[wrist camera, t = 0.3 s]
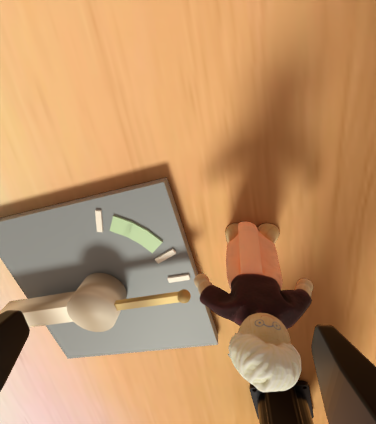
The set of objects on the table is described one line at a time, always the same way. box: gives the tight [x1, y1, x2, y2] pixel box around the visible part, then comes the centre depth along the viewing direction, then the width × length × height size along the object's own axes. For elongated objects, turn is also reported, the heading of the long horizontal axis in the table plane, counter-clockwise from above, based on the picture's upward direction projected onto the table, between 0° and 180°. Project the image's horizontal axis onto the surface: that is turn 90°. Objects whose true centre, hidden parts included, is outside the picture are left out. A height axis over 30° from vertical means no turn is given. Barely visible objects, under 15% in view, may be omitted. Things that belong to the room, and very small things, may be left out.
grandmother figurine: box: [194, 222, 313, 392], centre depth 17 cm, size 8×4×13 cm, turn 102°
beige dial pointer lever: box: [0, 273, 191, 332], centre depth 24 cm, size 19×4×3 cm, turn 106°
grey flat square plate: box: [0, 177, 218, 358], centre depth 26 cm, size 18×18×1 cm
